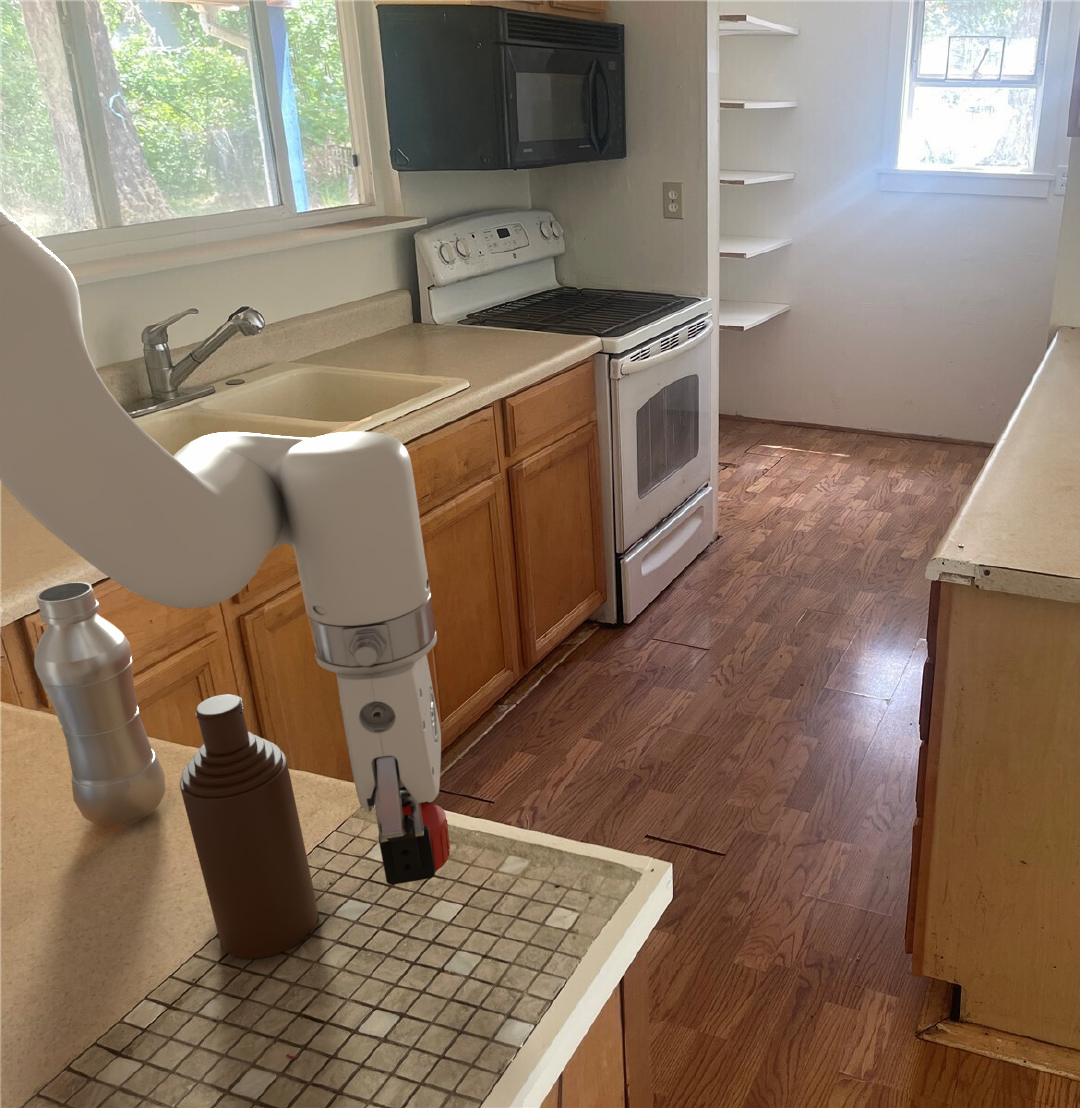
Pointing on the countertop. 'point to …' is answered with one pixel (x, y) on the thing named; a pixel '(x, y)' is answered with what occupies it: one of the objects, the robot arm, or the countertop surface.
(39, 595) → the silver water bottle
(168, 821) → the countertop surface
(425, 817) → the cap
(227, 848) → the sauce bottle
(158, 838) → the countertop surface
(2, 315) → the robot arm
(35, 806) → the countertop surface
